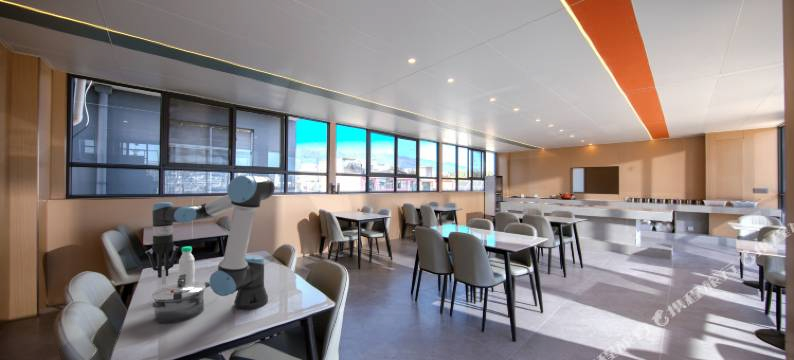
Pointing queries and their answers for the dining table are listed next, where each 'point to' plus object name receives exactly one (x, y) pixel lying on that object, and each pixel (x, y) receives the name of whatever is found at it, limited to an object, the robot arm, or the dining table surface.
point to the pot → (179, 308)
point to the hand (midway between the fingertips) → (163, 283)
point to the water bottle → (187, 264)
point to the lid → (179, 290)
